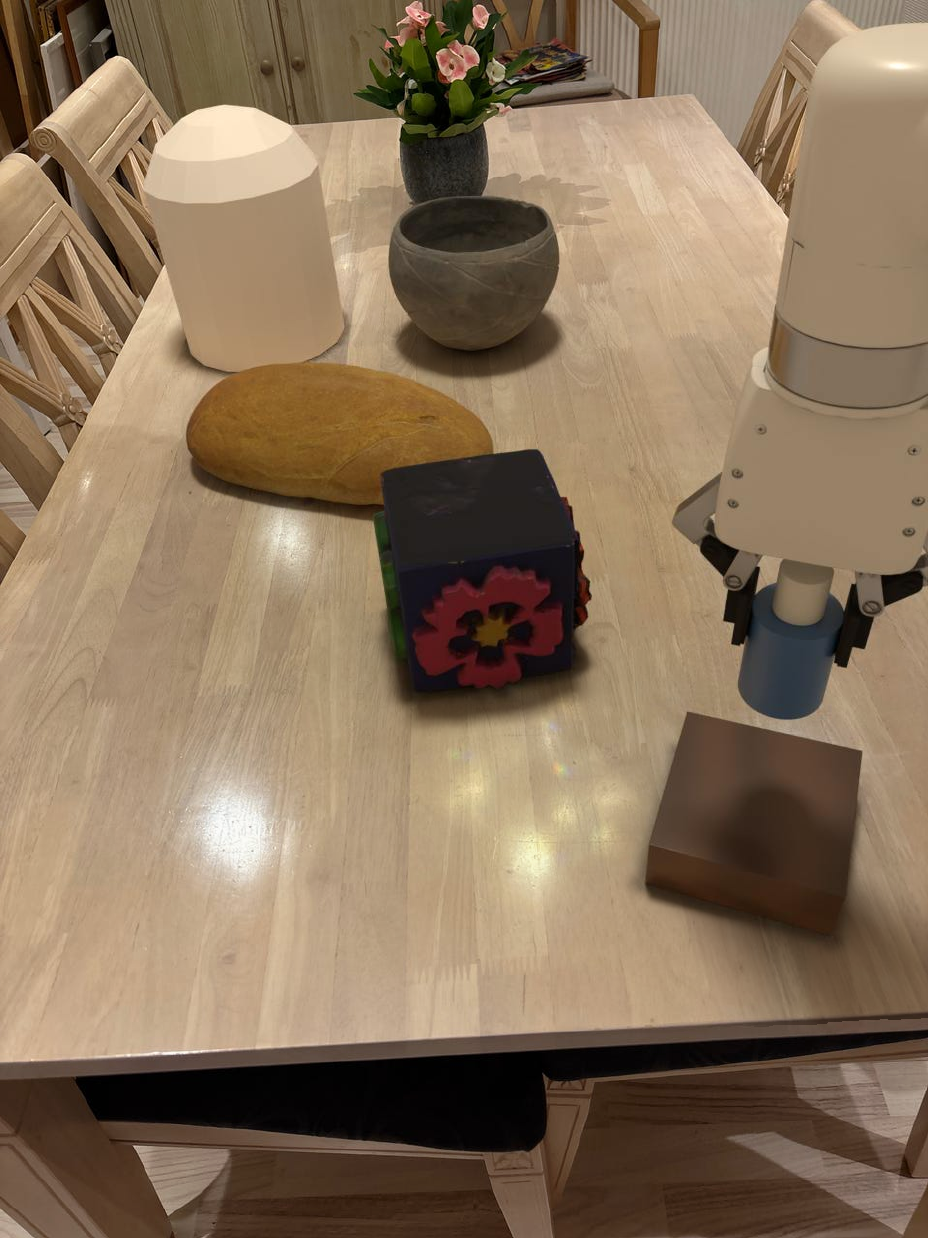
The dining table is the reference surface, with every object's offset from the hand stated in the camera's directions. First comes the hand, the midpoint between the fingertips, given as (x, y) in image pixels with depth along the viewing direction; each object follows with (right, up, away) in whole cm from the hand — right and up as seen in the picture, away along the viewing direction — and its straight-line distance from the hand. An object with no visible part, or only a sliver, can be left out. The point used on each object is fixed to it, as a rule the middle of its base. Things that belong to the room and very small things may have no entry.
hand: (791, 637), depth 56 cm
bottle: (0, -3, +3) cm, 4 cm away
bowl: (-17, +38, +70) cm, 81 cm away
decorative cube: (-17, 0, +29) cm, 34 cm away
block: (+1, -14, +12) cm, 18 cm away
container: (-45, +39, +75) cm, 96 cm away
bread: (-32, +18, +50) cm, 62 cm away
